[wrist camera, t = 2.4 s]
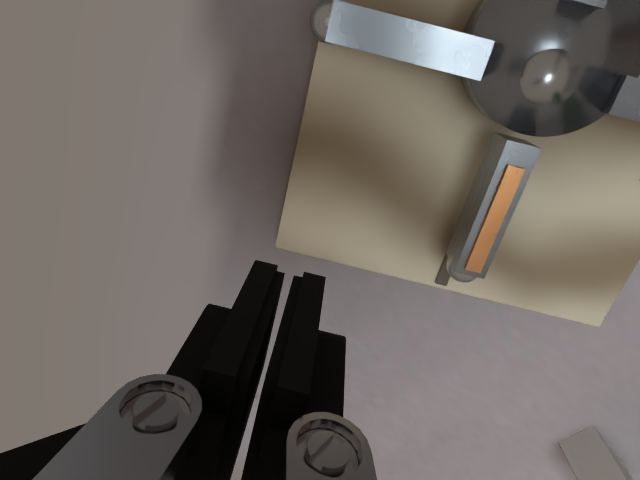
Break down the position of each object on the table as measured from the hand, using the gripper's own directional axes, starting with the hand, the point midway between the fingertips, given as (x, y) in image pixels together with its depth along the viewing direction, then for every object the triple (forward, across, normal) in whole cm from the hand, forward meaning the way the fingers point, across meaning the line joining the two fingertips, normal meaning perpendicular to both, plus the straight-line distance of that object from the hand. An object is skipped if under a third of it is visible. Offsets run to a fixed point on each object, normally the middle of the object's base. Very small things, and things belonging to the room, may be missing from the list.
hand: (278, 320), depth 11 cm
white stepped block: (+14, -24, +16) cm, 32 cm away
